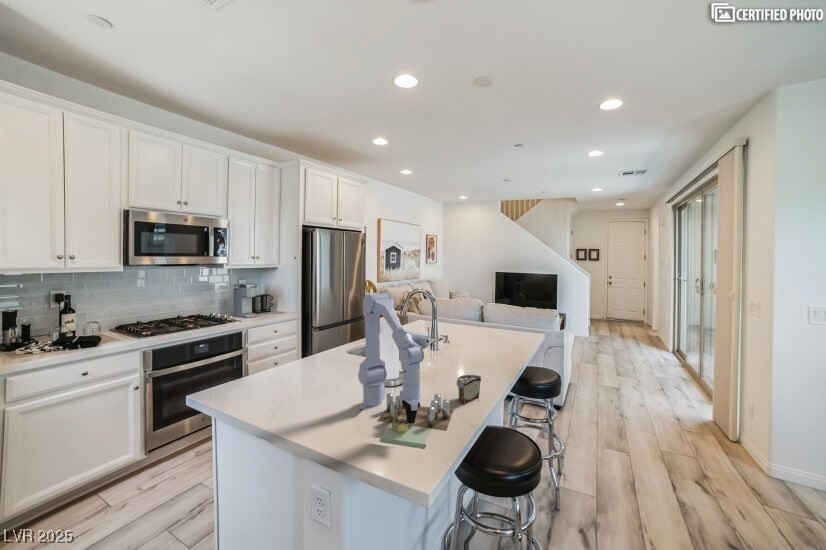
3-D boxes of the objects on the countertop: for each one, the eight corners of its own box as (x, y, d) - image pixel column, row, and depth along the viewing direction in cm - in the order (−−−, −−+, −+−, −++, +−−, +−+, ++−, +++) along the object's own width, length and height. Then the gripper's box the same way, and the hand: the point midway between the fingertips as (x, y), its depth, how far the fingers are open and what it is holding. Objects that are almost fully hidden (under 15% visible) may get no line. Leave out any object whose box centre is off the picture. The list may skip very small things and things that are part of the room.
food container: (468, 395, 146) (468, 372, 146) (480, 400, 142) (481, 375, 141) (449, 404, 138) (450, 379, 137) (462, 409, 133) (462, 383, 133)
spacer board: (391, 406, 135) (391, 402, 135) (453, 414, 129) (453, 410, 129) (376, 425, 120) (376, 421, 120) (446, 435, 114) (446, 430, 114)
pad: (390, 427, 118) (390, 423, 118) (431, 433, 115) (431, 428, 115) (380, 442, 109) (380, 437, 109) (424, 449, 105) (424, 444, 105)
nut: (388, 428, 114) (388, 421, 114) (399, 423, 118) (399, 416, 118) (401, 434, 111) (401, 426, 110) (412, 429, 114) (412, 421, 114)
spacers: (391, 404, 133) (391, 389, 133) (451, 412, 127) (451, 395, 127) (378, 420, 120) (378, 403, 120) (445, 429, 114) (445, 411, 114)
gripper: (396, 375, 123) (396, 413, 123) (402, 391, 108) (401, 434, 109) (416, 374, 124) (416, 412, 124) (424, 390, 110) (424, 432, 110)
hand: (410, 422), depth 117 cm, fingers closed
